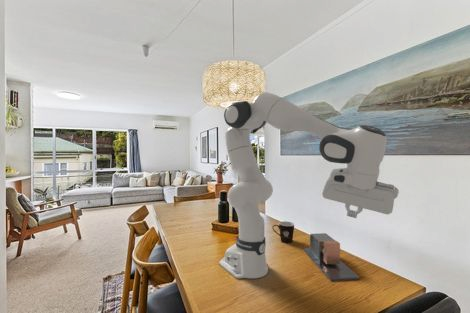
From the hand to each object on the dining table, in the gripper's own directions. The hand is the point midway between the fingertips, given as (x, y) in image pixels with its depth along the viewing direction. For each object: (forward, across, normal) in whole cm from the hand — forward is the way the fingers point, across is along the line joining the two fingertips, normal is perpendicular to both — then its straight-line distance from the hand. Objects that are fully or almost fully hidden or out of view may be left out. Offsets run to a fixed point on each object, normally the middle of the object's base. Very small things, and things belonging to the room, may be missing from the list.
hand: (351, 216), depth 76 cm
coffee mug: (+45, +28, -34) cm, 63 cm away
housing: (+37, +4, -19) cm, 42 cm away
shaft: (+36, +6, -22) cm, 42 cm away
